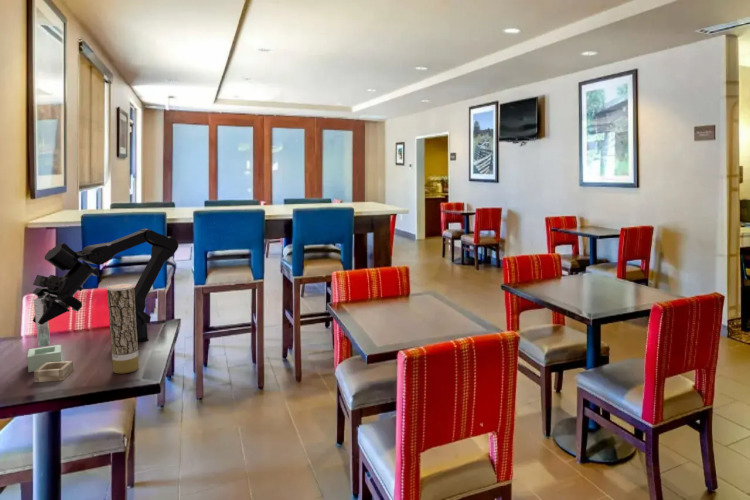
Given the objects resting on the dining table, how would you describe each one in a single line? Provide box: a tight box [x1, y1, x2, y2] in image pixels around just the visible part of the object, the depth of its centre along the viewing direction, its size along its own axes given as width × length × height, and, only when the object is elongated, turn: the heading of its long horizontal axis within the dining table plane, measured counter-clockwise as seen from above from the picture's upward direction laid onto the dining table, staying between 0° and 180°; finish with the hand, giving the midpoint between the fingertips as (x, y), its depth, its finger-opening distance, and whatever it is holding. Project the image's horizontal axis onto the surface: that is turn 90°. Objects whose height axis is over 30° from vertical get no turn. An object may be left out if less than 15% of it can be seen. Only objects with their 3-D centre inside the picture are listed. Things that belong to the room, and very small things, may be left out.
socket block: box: [26, 344, 63, 373], centre depth 142 cm, size 8×8×4 cm
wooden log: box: [106, 283, 140, 375], centre depth 137 cm, size 7×7×25 cm
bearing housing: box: [33, 360, 74, 383], centre depth 134 cm, size 7×7×3 cm
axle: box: [33, 297, 51, 348], centre depth 140 cm, size 3×3×14 cm
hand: (36, 322), depth 139 cm, fingers closed on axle, 3 cm apart
